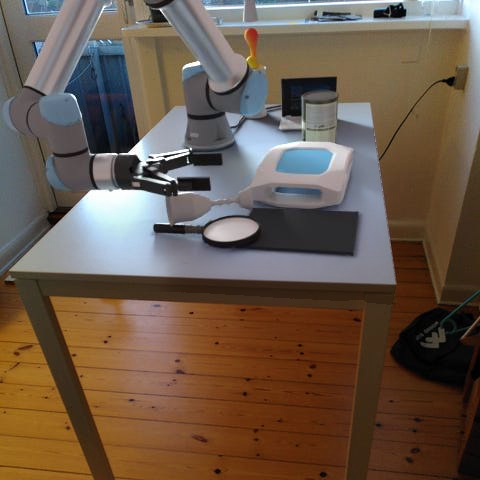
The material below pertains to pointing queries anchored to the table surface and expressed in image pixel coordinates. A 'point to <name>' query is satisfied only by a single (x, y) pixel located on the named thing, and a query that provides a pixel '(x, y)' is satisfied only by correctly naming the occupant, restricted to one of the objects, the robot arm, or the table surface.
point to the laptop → (292, 97)
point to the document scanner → (303, 174)
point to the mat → (305, 231)
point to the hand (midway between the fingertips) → (216, 170)
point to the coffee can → (319, 116)
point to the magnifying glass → (219, 231)
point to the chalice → (200, 205)
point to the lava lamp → (252, 44)
